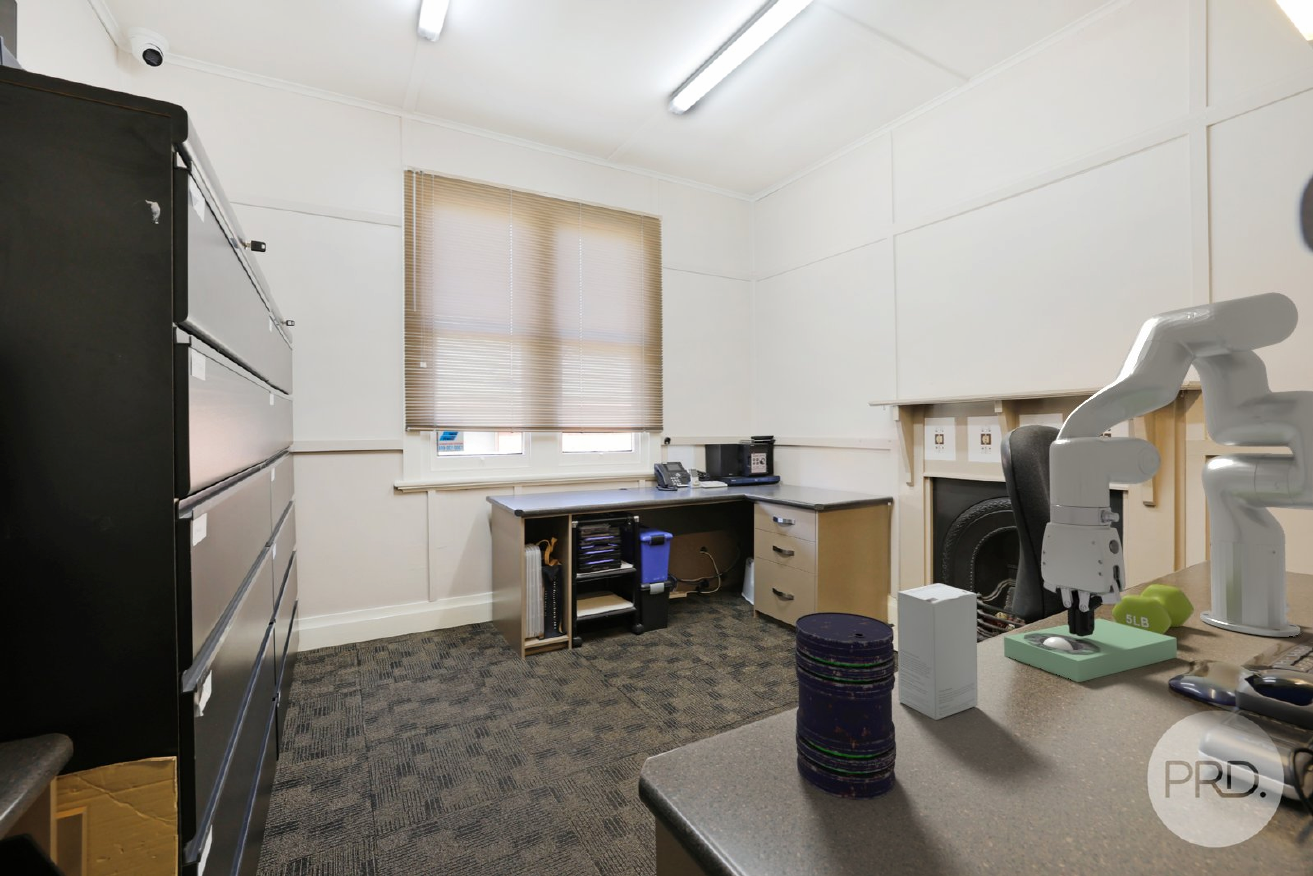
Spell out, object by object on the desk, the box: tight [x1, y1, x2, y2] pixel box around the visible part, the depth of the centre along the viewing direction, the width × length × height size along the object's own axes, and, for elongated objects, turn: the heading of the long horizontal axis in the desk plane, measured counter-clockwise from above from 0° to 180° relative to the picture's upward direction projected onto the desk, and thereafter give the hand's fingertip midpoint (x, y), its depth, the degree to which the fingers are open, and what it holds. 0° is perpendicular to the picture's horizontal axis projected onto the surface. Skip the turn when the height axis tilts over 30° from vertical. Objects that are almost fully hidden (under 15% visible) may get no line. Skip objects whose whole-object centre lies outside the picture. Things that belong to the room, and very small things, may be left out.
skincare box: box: [897, 582, 979, 721], centre depth 73 cm, size 8×6×15 cm
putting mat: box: [1003, 618, 1178, 683], centre depth 89 cm, size 24×11×3 cm, turn 112°
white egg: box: [1043, 637, 1073, 650], centre depth 86 cm, size 4×4×4 cm
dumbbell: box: [1111, 583, 1195, 635], centre depth 102 cm, size 16×8×7 cm, turn 123°
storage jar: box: [794, 611, 897, 801], centre depth 59 cm, size 10×10×15 cm
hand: (1081, 633), depth 88 cm, fingers closed
